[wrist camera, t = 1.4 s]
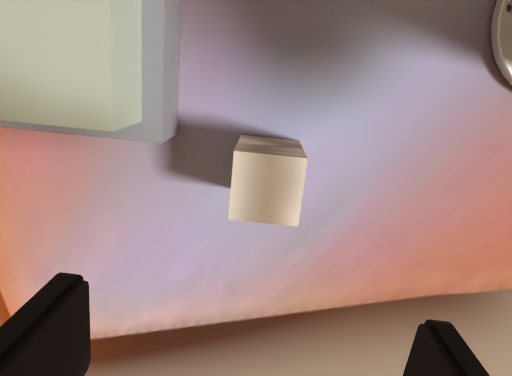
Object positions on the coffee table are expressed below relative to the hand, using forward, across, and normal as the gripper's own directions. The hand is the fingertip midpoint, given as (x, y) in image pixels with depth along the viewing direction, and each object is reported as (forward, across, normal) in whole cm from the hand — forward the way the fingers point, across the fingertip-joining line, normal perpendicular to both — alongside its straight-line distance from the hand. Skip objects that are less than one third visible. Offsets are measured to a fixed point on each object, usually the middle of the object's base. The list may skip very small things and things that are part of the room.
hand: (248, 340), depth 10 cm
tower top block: (+18, +14, -7) cm, 23 cm away
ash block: (+22, 0, 0) cm, 22 cm away
